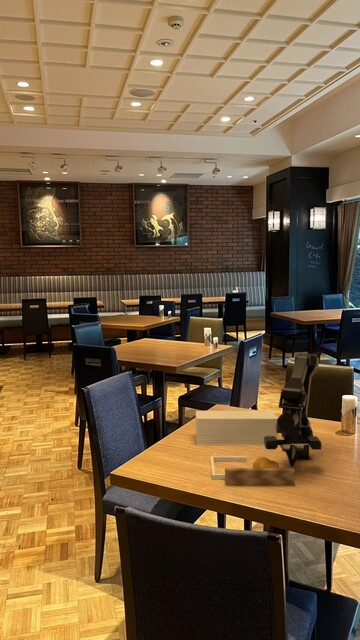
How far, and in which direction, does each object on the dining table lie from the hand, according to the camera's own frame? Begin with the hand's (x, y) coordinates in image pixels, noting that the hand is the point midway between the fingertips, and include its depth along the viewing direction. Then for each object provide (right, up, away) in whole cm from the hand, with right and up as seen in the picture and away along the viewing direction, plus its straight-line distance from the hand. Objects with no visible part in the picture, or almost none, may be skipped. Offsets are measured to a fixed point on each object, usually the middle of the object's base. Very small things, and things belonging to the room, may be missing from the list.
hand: (291, 466), depth 165 cm
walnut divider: (-13, -2, -11) cm, 17 cm away
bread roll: (-9, -2, 0) cm, 9 cm away
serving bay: (-21, -1, +1) cm, 21 cm away
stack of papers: (-16, +1, +29) cm, 33 cm away
